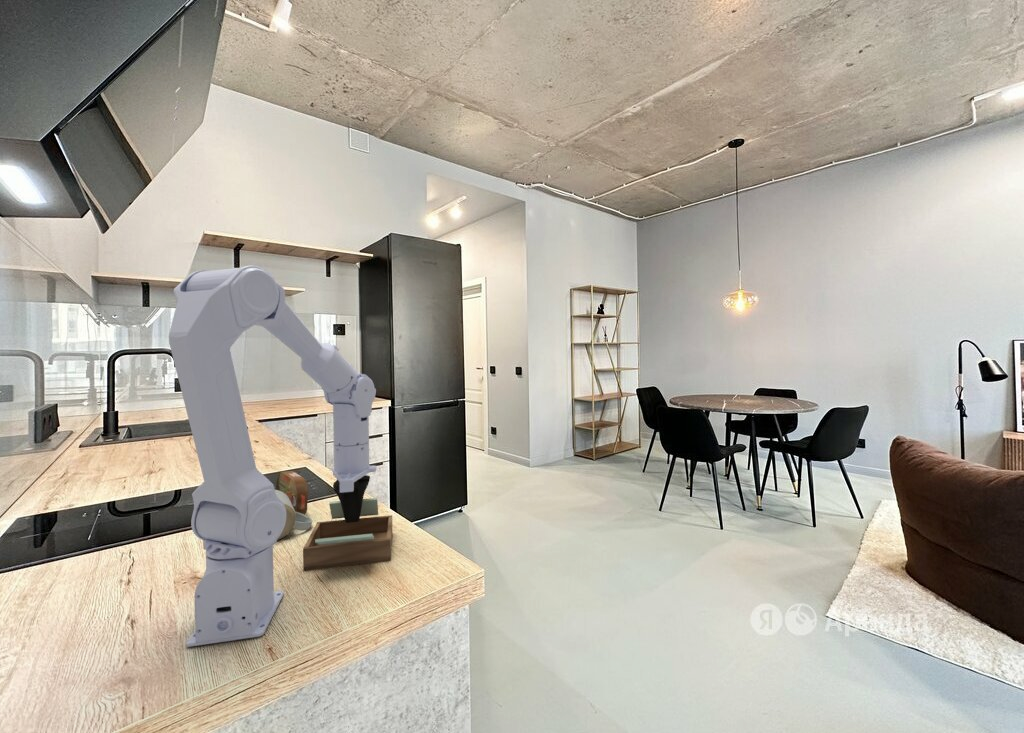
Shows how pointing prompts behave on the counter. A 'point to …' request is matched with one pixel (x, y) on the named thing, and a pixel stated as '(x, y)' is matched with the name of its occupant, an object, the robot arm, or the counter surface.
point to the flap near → (344, 539)
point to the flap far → (367, 509)
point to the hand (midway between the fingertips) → (352, 521)
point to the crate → (349, 543)
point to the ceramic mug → (292, 516)
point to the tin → (294, 489)
